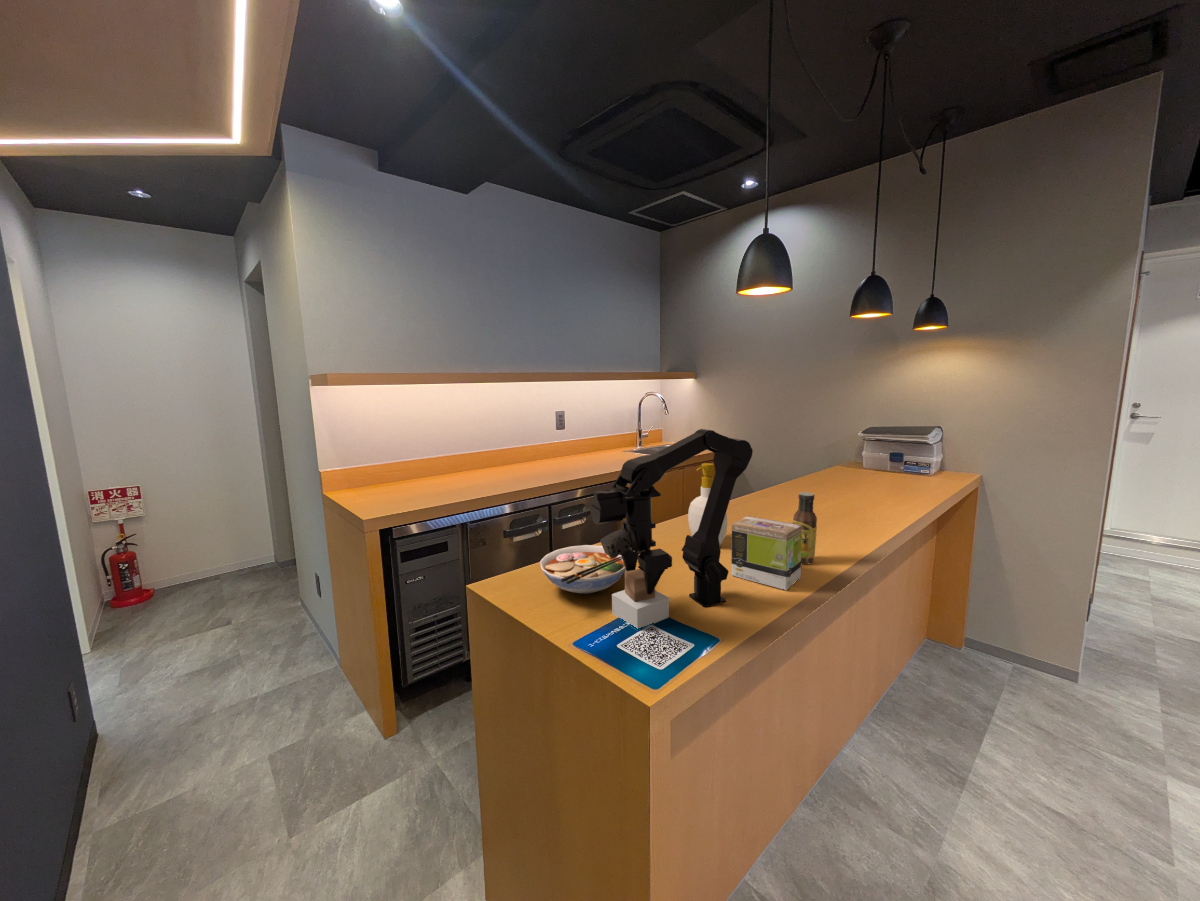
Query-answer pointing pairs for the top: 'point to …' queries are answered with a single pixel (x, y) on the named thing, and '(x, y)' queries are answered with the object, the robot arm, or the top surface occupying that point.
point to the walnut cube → (636, 586)
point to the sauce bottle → (806, 526)
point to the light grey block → (640, 609)
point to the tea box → (766, 551)
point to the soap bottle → (703, 503)
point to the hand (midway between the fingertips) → (639, 585)
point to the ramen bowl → (582, 568)
